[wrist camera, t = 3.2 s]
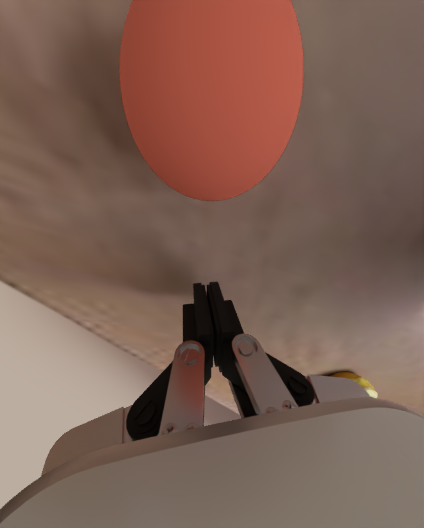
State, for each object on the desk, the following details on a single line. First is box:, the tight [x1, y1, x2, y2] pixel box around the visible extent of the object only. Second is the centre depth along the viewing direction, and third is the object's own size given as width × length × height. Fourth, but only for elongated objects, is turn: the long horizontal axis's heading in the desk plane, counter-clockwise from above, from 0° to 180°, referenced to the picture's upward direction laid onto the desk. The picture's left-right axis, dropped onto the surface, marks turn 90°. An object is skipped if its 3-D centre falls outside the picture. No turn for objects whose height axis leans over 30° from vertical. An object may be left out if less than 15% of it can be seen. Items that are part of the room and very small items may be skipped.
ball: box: [119, 0, 304, 201], centre depth 6 cm, size 6×6×6 cm
